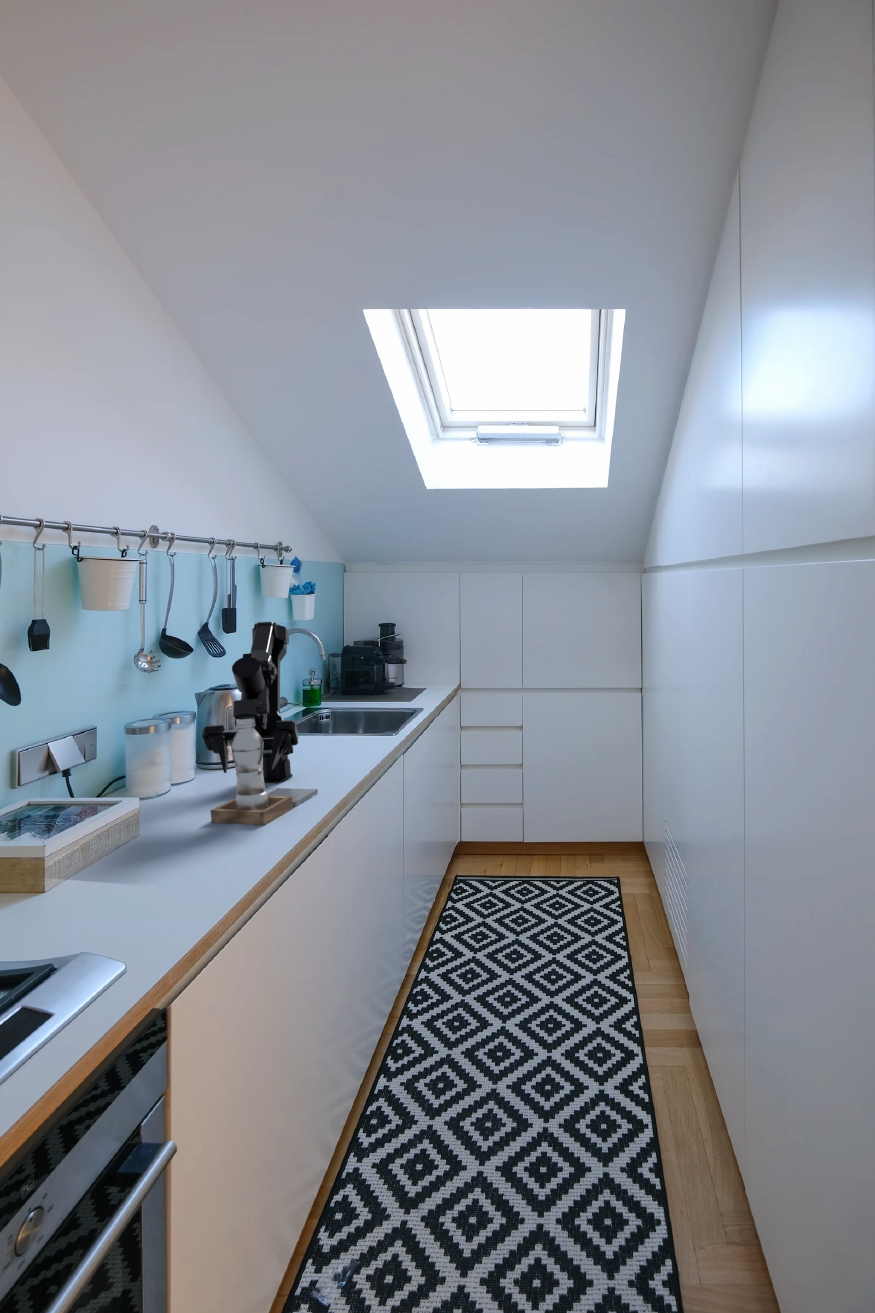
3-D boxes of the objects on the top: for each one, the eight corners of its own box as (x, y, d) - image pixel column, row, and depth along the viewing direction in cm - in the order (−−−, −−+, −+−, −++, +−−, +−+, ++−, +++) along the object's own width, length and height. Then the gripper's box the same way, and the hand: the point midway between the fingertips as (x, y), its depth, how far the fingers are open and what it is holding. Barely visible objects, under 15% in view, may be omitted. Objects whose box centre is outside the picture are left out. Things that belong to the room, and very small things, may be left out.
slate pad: (254, 805, 161) (253, 800, 160) (277, 792, 170) (277, 788, 170) (296, 806, 157) (295, 801, 157) (317, 793, 167) (317, 789, 167)
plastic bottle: (273, 810, 156) (266, 714, 154) (263, 820, 149) (255, 720, 147) (243, 811, 156) (235, 715, 155) (231, 821, 150) (223, 721, 148)
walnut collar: (211, 822, 149) (210, 810, 149) (242, 806, 160) (241, 795, 160) (265, 825, 146) (264, 812, 145) (292, 808, 156) (291, 796, 156)
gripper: (200, 686, 154) (190, 751, 144) (292, 681, 155) (289, 744, 145) (212, 718, 162) (204, 781, 152) (299, 713, 163) (297, 775, 153)
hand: (248, 770), depth 150 cm, fingers open, 9 cm apart
